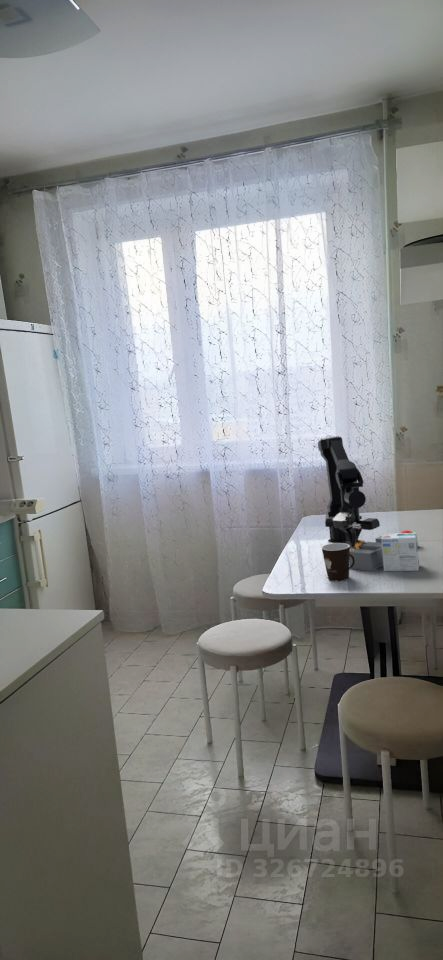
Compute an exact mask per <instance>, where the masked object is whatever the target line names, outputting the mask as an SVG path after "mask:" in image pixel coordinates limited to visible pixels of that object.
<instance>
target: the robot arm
mask: <svg viewBox="0 0 443 960" xmlns="http://www.w3.org/2000/svg"><path fill="white" fill-rule="evenodd" d="M317 449H318V451H319V452H320V456H321V457H322V458H323V460H324V461H325V465H326V473H327V483H328V489H329V491H328V492H329V498H330V499H329V502H328V504H327V508H326V509H327V511H326V514H325V520H324V524H325V525H324V526H325V527H326V528H327V527H328V529H329V539H328V540H327V542H331V543H345V542H346V541H349V545H350V547H351V548H353V547H355V542H356V541H357V540H359V536H360V535H361V533H362V530H364V531H365V530H366V531H372V530H375V529H377V528H380V527H381V525H380V520H379V519H378V518H374V517H373V518H372V517H371V518H370V517H368V518H364V519H363V518H362V515H360V508H362V507H363V506H365V504H366V501H367V497H366V495H365V493H363V491H361V490H360V488H362V487H364V480H363V475H362V473H361V471H360V470H359V469H358V468H357V465H356V464H355V462H353V461H350V459H349V457H348V455H347V452H346V450H345V447H344V442H343V437H341V436H330V437H322V438H320V440H319V441H318V442H317ZM362 519H363V520H362Z"/></svg>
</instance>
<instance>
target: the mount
mask: <svg viewBox="0 0 443 960" xmlns="http://www.w3.org/2000/svg"><path fill="white" fill-rule="evenodd" d="M382 536H383V535H380V536H378V537H376V538H375V542H373V541H368V543H366V544H363V545H362V549H353V550H351V549H350V550H351V551H350V554H351V555H352V556H353V557H354V560H355V563H354V565H353V567H352V568H351V569H353V570H354V569H355V570H362V571H369V572H373V571H374V570H376V569H378V568H380V567H383V555H382V544H381V538H382ZM352 563H353V560H352V558H351V556H349V567H350V566H351V565H352ZM351 569H350V570H351Z"/></svg>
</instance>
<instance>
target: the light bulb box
mask: <svg viewBox="0 0 443 960" xmlns="http://www.w3.org/2000/svg"><path fill="white" fill-rule="evenodd" d="M381 536H382V538H381V544H382V555H383V565H382V567H383V572H407V571H408V572H415V571H416V572H418V571H419V568H420V557H419V545H418V543H419V542H418V534H417V532H413V533H401V532H400V533H397V532H396V533H383V534H382V535H381Z"/></svg>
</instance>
